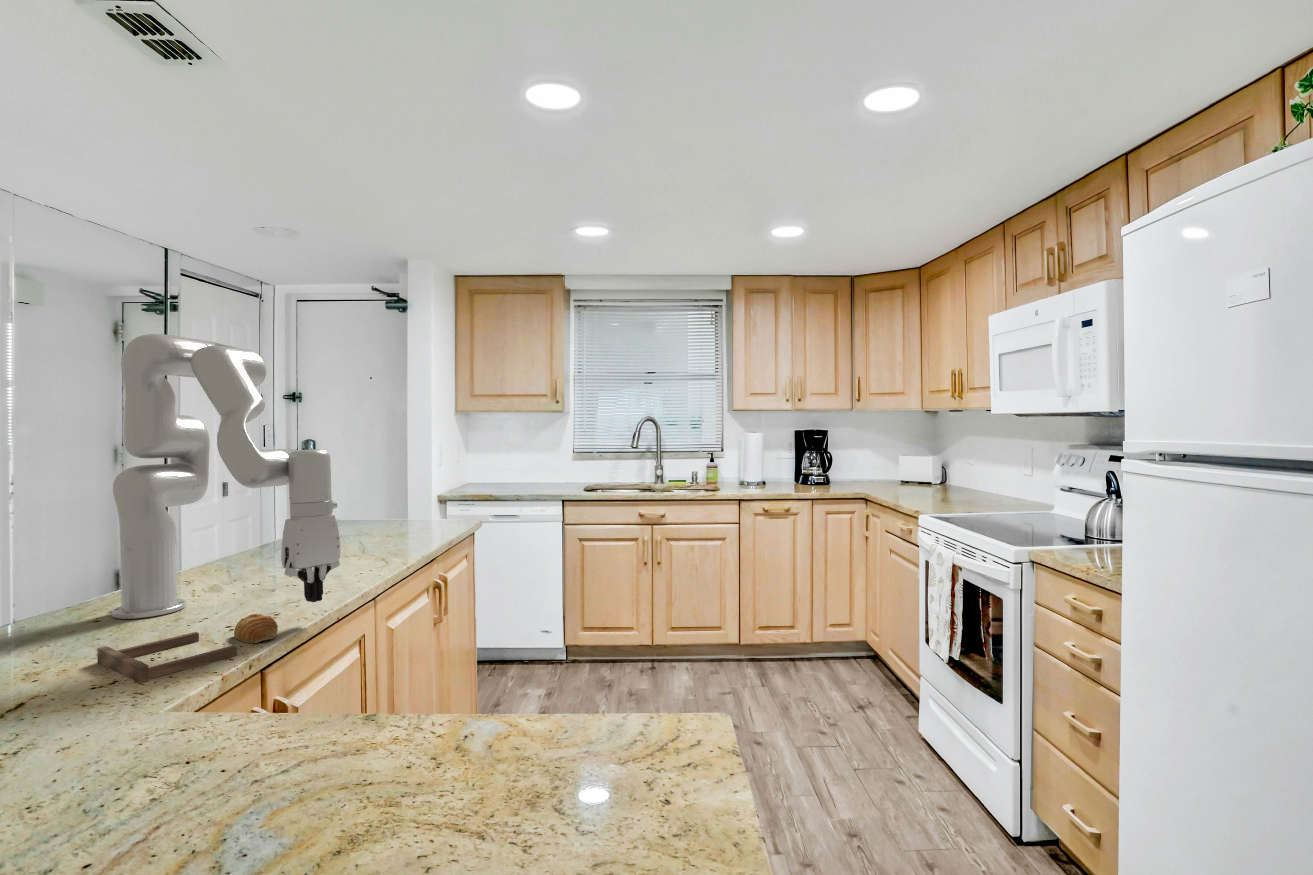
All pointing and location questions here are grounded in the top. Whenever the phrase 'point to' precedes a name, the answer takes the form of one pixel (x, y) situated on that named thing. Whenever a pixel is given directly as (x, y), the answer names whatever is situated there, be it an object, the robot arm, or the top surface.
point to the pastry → (256, 628)
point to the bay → (139, 670)
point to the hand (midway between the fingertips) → (314, 600)
